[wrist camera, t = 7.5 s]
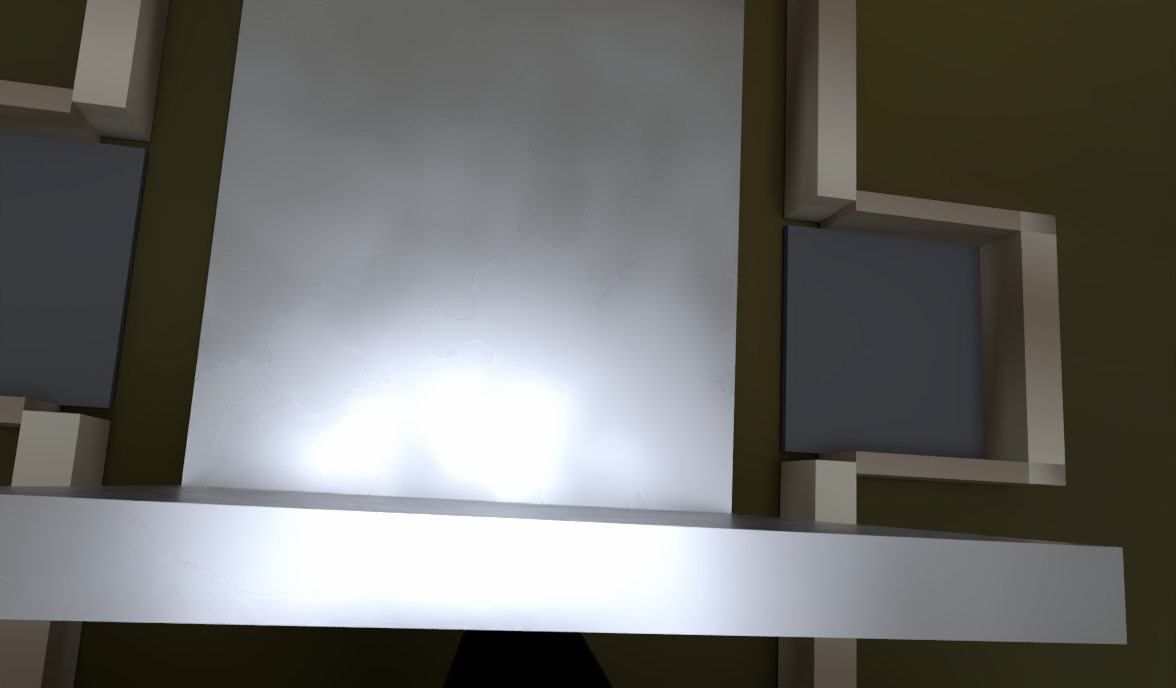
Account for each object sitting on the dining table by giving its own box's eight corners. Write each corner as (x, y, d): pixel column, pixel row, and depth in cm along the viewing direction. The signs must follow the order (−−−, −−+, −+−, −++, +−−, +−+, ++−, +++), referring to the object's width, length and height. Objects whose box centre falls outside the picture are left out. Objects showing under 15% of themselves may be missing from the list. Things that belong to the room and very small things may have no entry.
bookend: (715, 554, 17) (1126, 644, 8) (185, 532, 15) (-174, 614, 6) (730, -14, 19) (1072, -520, 10) (265, -97, 17) (101, -834, 8)
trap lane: (1027, 949, 17) (1183, 1064, 14) (-378, 1033, 13) (-664, 1235, 9) (997, -48, 21) (1115, -152, 17) (-109, -261, 16) (-243, -462, 13)
